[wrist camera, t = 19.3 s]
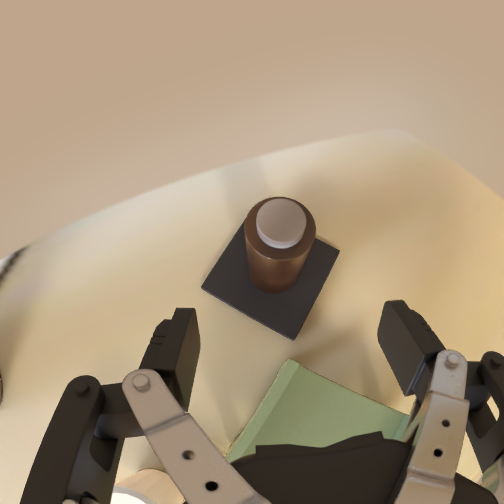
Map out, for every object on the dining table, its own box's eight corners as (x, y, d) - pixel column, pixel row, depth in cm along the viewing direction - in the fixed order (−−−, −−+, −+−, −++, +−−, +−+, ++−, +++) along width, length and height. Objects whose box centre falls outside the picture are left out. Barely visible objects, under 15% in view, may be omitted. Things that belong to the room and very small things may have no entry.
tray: (227, 447, 22) (217, 471, 16) (282, 359, 25) (290, 358, 19) (335, 493, 19) (354, 521, 13) (387, 410, 22) (421, 418, 16)
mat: (201, 288, 28) (200, 287, 27) (253, 209, 31) (253, 206, 30) (293, 340, 26) (294, 340, 25) (338, 252, 29) (340, 250, 28)
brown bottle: (239, 278, 27) (229, 232, 18) (264, 238, 29) (266, 178, 20) (284, 303, 26) (298, 268, 17) (307, 260, 28) (330, 208, 19)
